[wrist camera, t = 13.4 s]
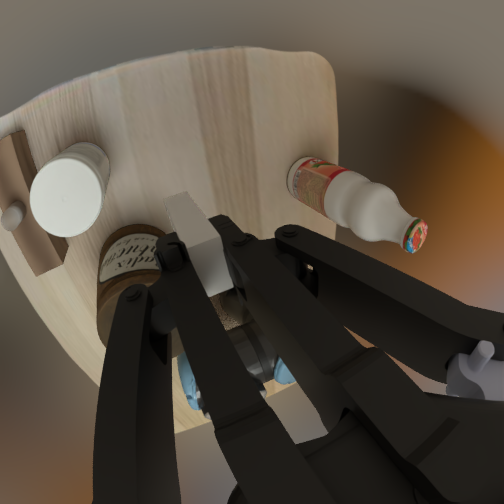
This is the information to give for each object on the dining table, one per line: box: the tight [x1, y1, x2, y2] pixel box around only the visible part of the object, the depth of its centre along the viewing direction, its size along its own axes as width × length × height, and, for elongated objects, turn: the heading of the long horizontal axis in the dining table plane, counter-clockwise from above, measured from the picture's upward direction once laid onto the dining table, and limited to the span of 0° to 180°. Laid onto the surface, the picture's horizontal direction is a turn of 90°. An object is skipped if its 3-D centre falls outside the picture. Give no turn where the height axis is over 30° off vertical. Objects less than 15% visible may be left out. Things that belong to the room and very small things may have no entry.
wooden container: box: [97, 224, 184, 358], centre depth 38 cm, size 15×15×22 cm
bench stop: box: [0, 130, 69, 277], centre depth 28 cm, size 6×22×10 cm, turn 10°
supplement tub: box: [30, 142, 110, 237], centre depth 29 cm, size 10×10×15 cm
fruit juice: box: [287, 157, 427, 253], centre depth 42 cm, size 9×9×28 cm
